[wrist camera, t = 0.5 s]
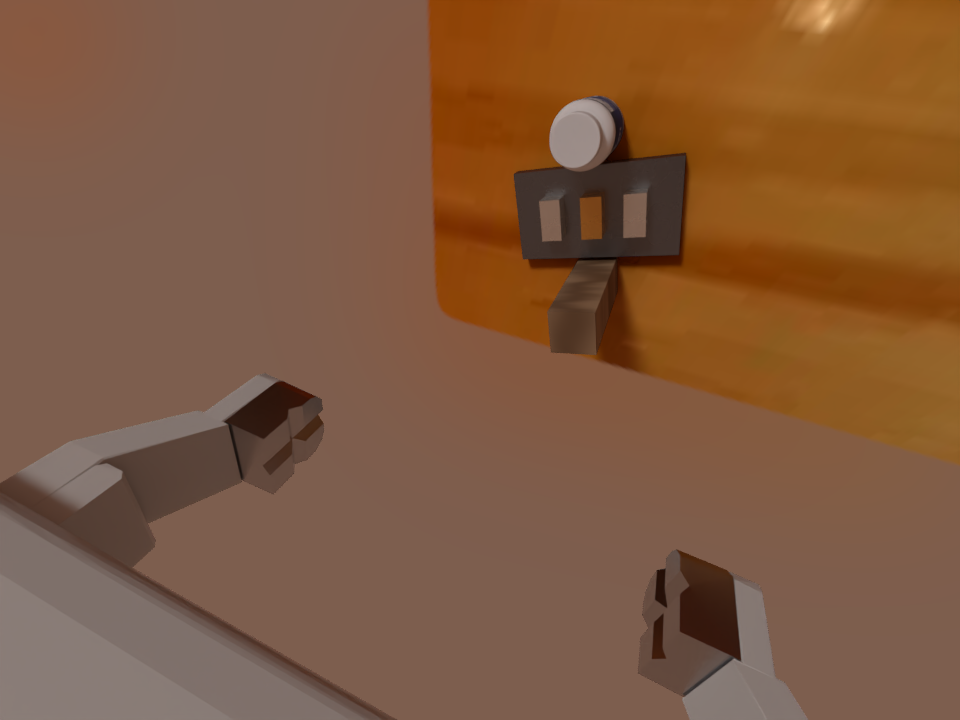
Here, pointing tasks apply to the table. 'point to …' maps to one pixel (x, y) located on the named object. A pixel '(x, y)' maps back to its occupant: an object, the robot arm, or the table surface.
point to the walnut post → (583, 306)
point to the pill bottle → (586, 133)
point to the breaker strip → (614, 186)
